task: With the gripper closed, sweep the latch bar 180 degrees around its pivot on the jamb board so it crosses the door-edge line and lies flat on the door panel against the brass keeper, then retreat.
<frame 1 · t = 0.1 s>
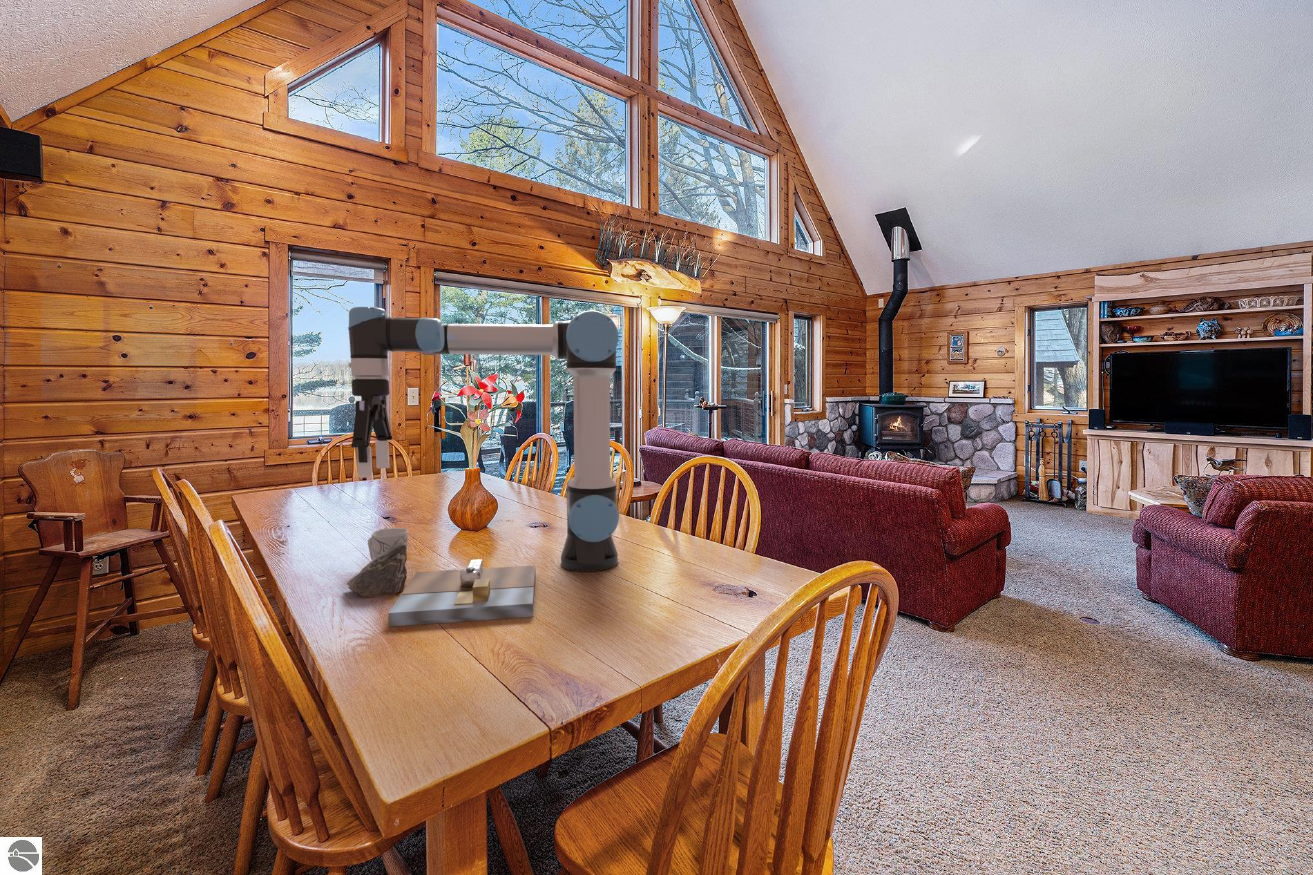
hand: (374, 472, 133), 28 cm above the table, fingers open, 13 cm apart
latch bar: (473, 569, 137), point 5 cm above the table, hinge at 0.0°
rock: (378, 590, 138), on the table
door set: (470, 598, 132), on the table
mug: (387, 570, 153), on the table
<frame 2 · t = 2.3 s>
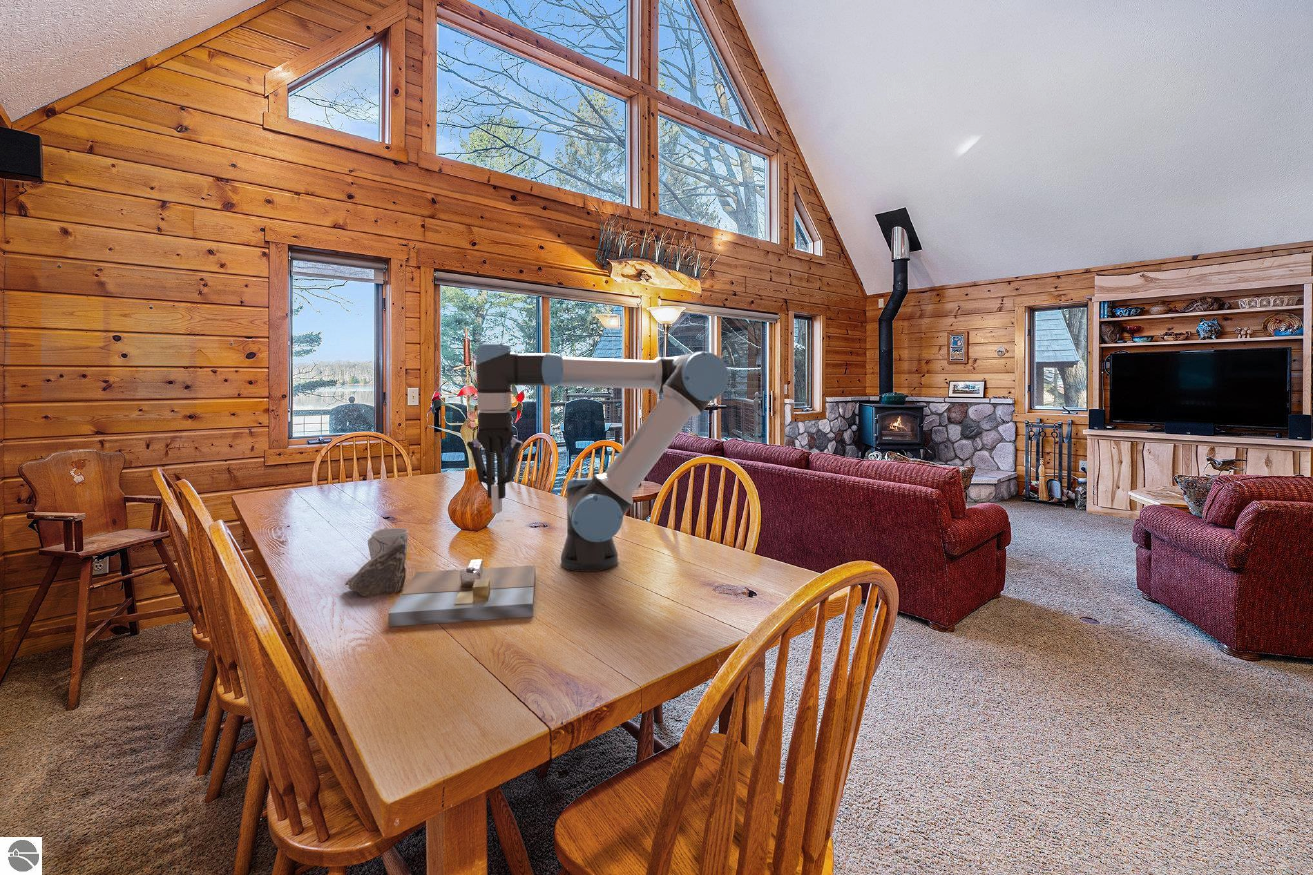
hand: (497, 511, 138), 18 cm above the table, fingers closed
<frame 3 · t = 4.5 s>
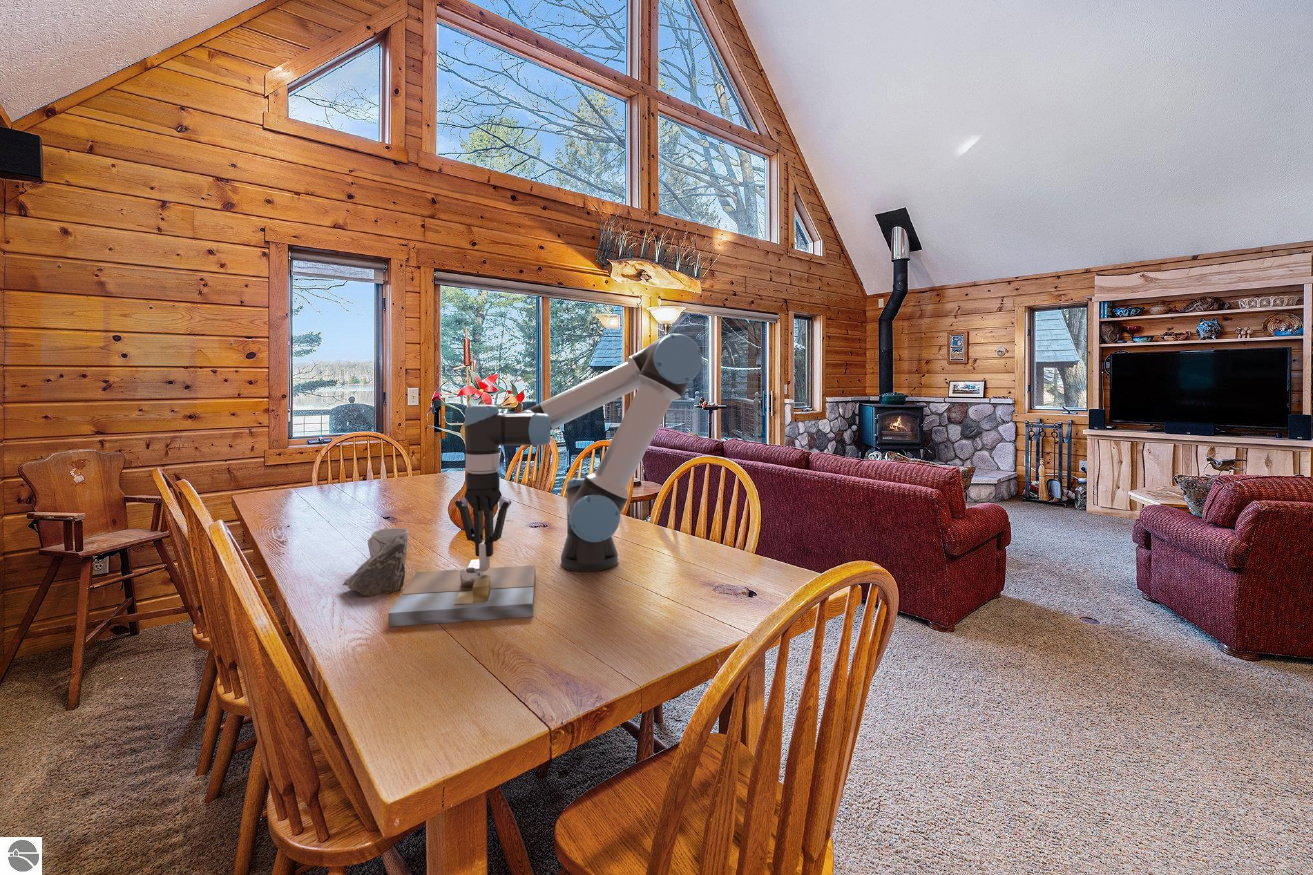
hand: (484, 569, 140), 4 cm above the table, fingers closed
latch bar: (473, 569, 137), point 5 cm above the table, hinge at 0.0°, touching gripper
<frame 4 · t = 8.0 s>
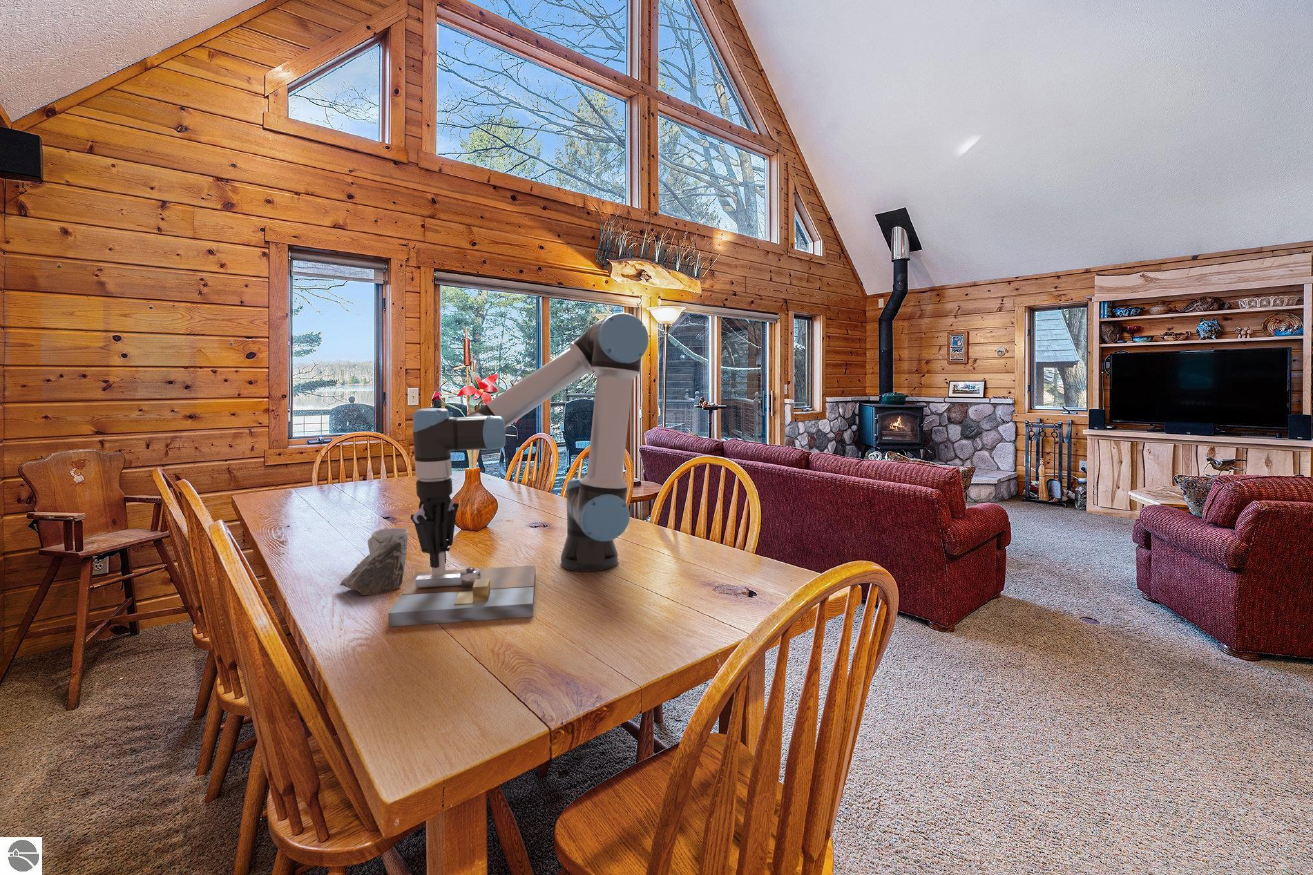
hand: (439, 579, 134), 4 cm above the table, fingers closed
latch bar: (449, 577, 132), point 5 cm above the table, hinge at 90.1°, touching gripper
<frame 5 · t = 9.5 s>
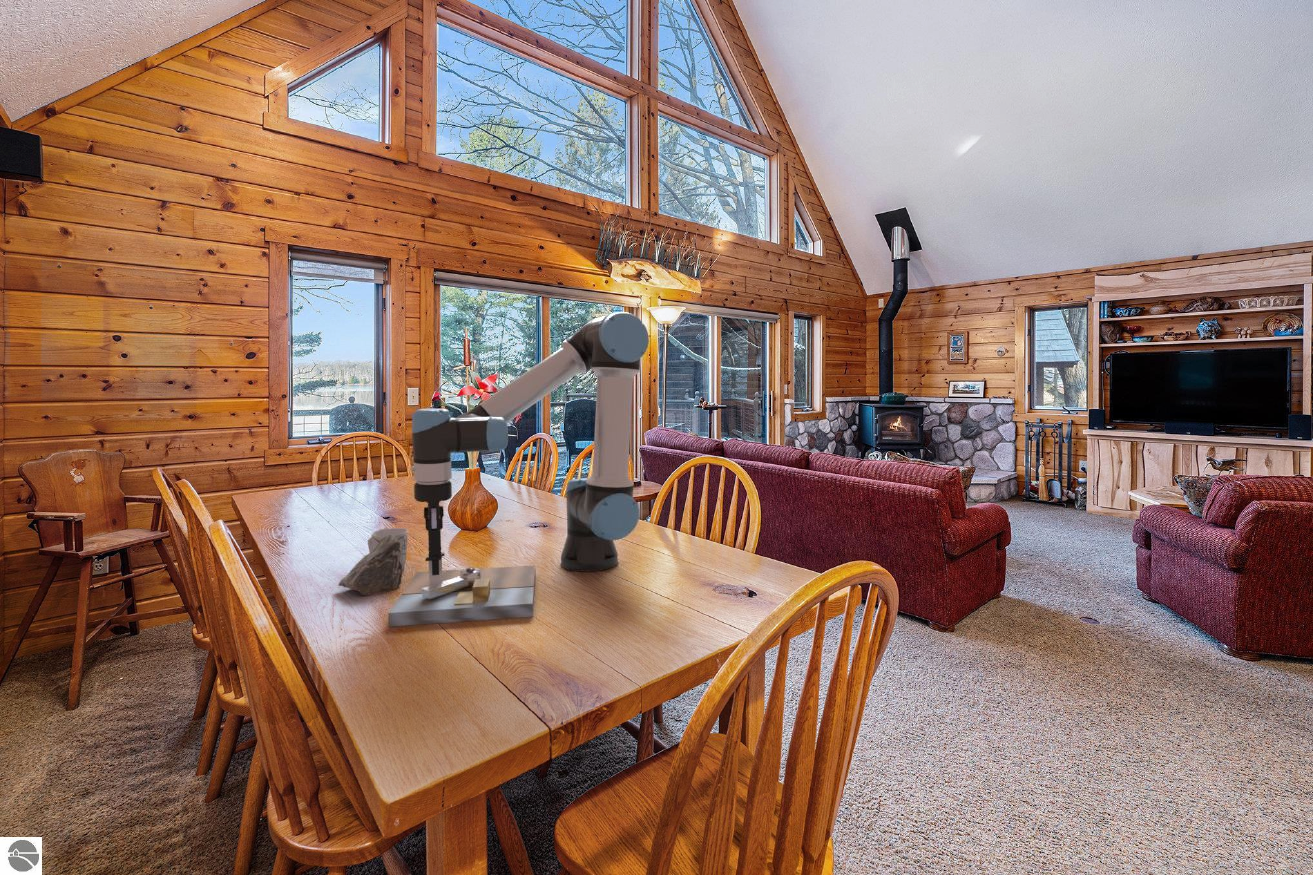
hand: (436, 587, 128), 4 cm above the table, fingers closed
latch bar: (453, 581, 129), point 5 cm above the table, hinge at 135.9°, touching gripper
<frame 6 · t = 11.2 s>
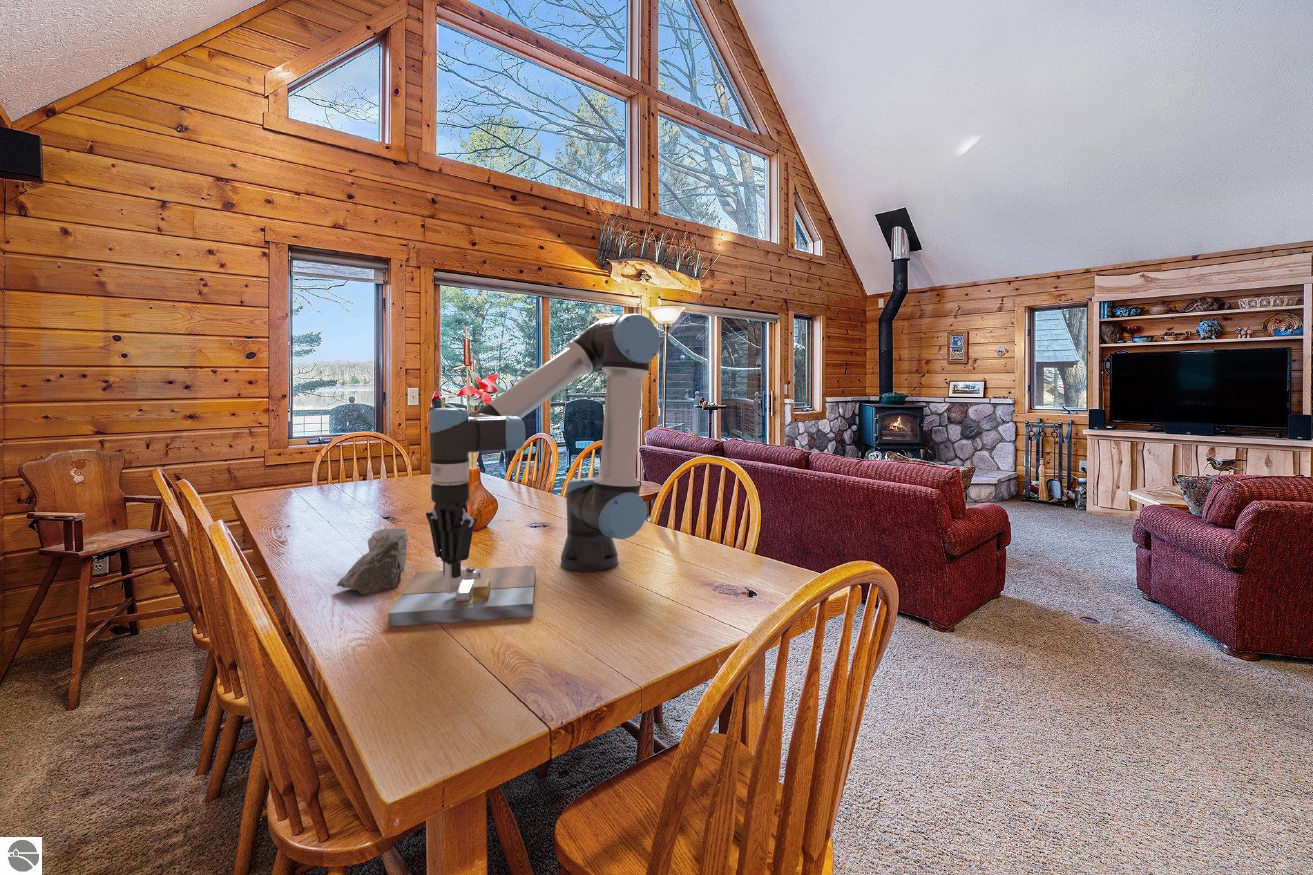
hand: (452, 591, 125), 4 cm above the table, fingers closed
latch bar: (467, 583, 128), point 5 cm above the table, hinge at 179.0°, touching gripper
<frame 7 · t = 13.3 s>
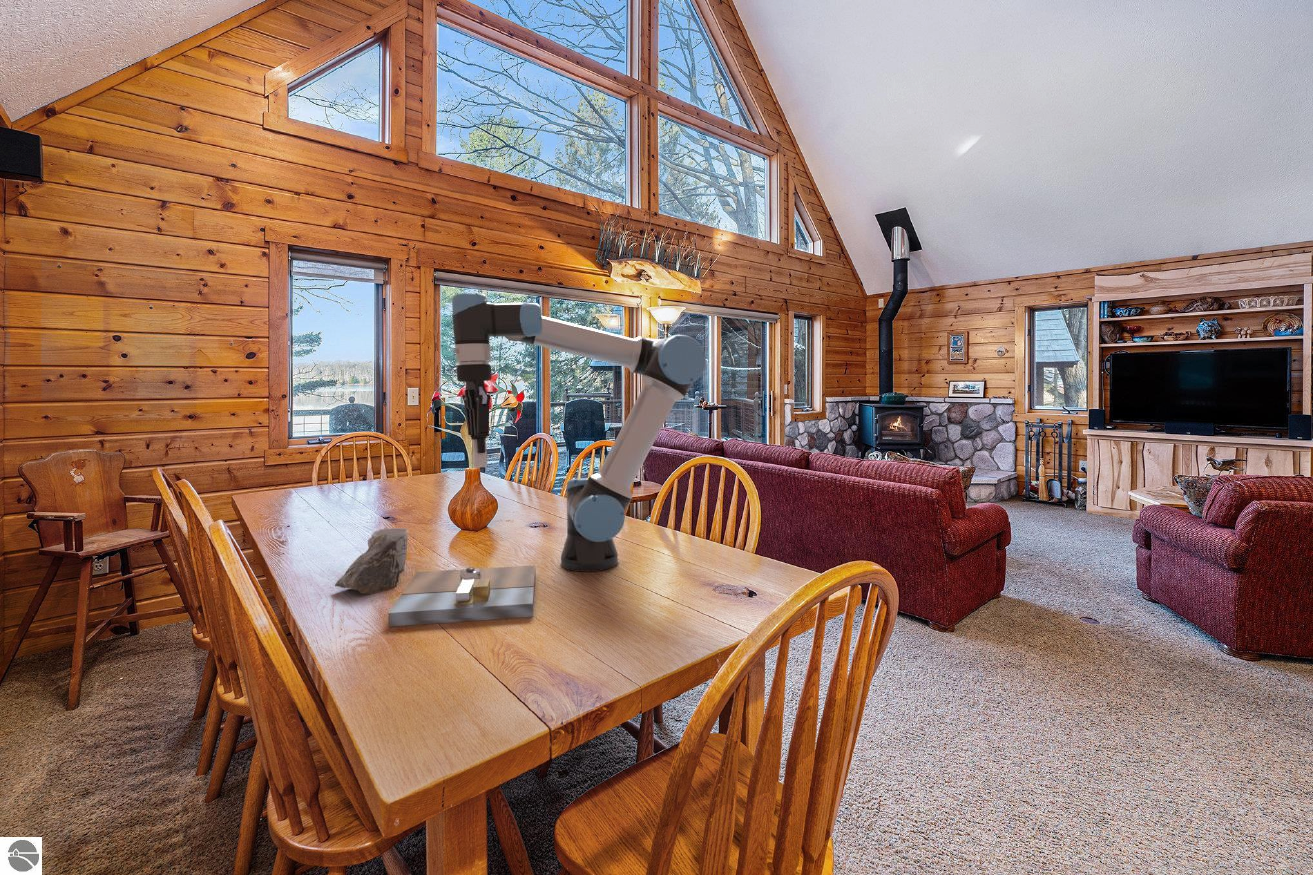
hand: (480, 466, 136), 29 cm above the table, fingers closed
latch bar: (467, 583, 128), point 5 cm above the table, hinge at 179.1°
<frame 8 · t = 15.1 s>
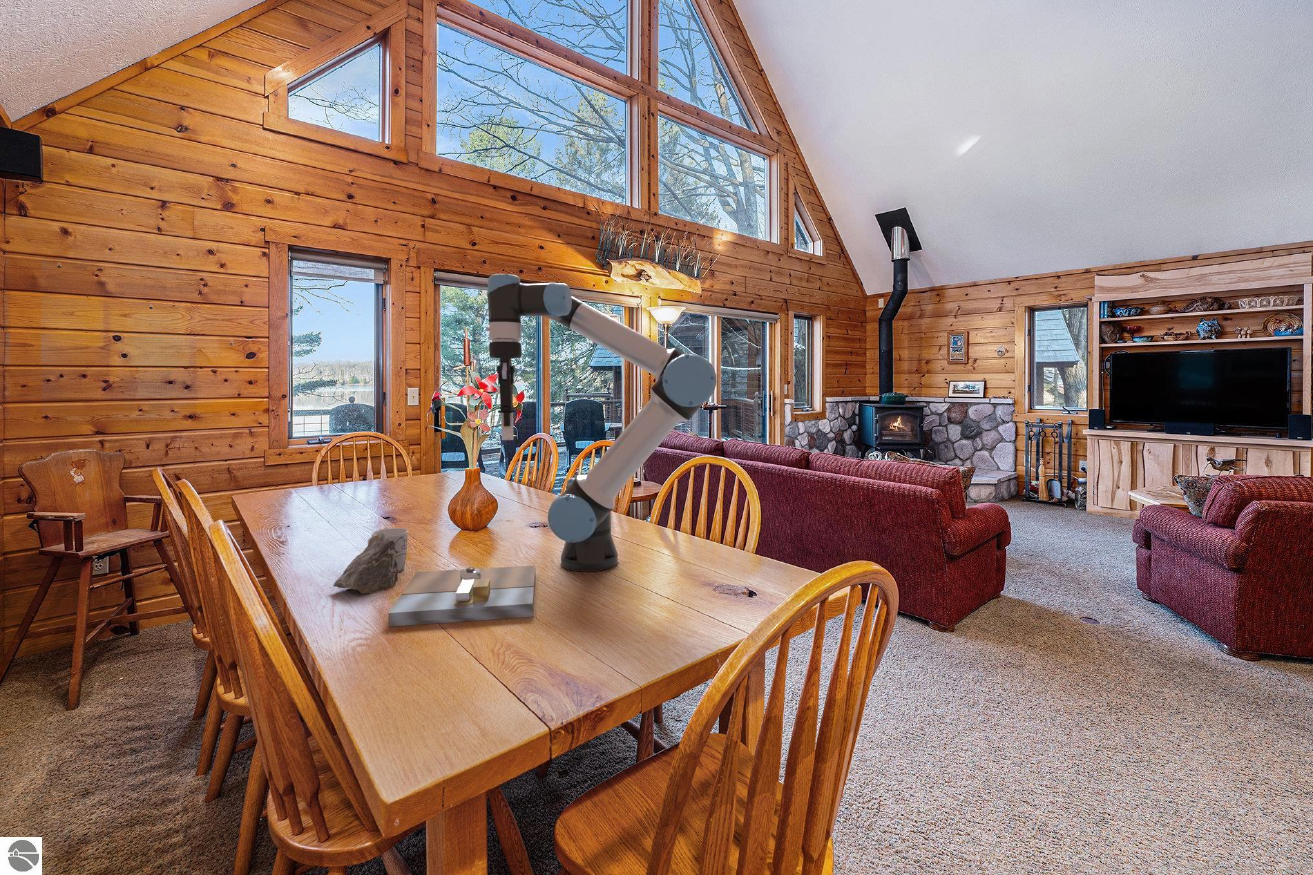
hand: (507, 439, 143), 34 cm above the table, fingers closed
at the end: latch bar at +179° (first picture: +0°) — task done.
